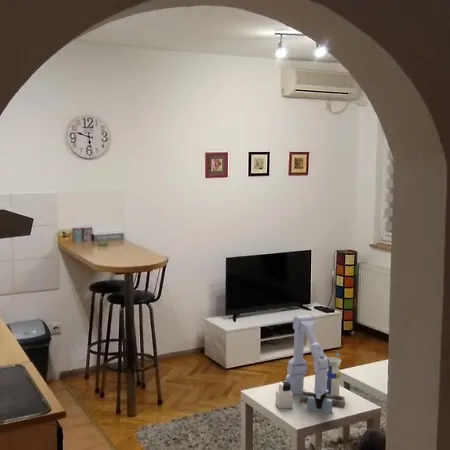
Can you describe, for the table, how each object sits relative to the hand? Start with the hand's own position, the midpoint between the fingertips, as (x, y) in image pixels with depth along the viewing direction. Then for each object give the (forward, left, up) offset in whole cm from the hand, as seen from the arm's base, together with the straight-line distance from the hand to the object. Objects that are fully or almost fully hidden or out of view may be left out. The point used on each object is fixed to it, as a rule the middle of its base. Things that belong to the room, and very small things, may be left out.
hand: (319, 407), depth 304 cm
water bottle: (+4, +23, -2) cm, 23 cm away
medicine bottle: (-18, 0, -2) cm, 18 cm away
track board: (0, +11, -2) cm, 11 cm away
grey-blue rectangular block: (0, 0, -2) cm, 2 cm away
